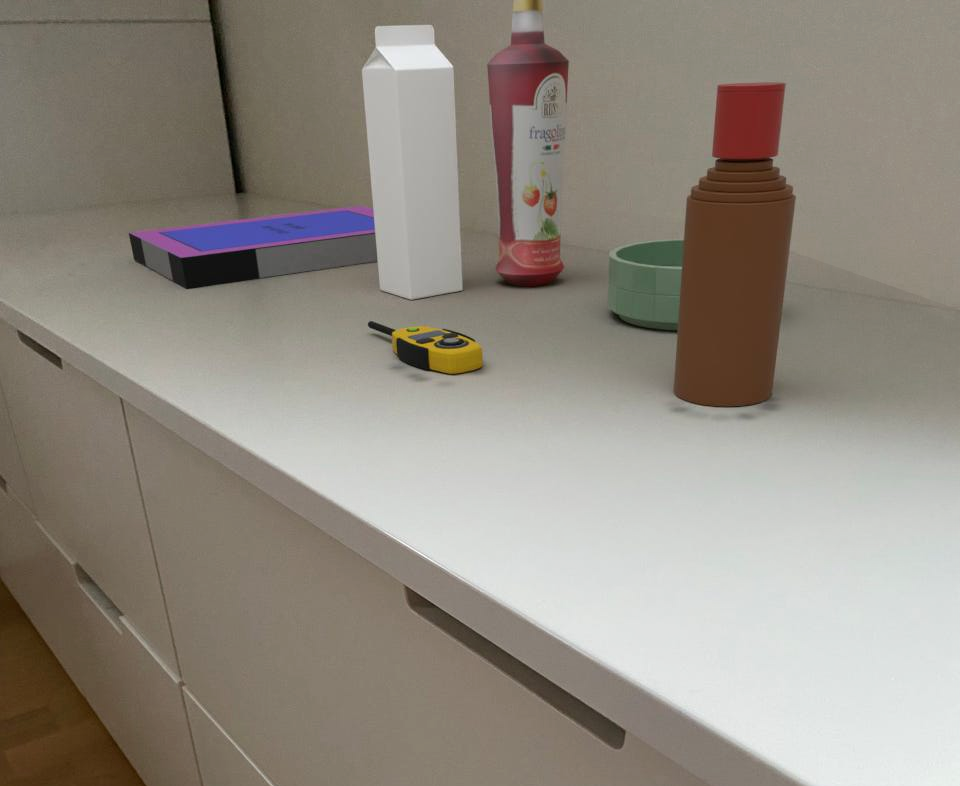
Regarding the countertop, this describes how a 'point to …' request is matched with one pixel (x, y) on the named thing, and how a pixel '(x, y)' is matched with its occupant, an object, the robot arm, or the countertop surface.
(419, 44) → the milk
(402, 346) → the yellow walkie talkie
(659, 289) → the bowl
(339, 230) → the book
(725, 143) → the cap
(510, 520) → the countertop surface
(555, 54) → the liquor
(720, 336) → the bottle
